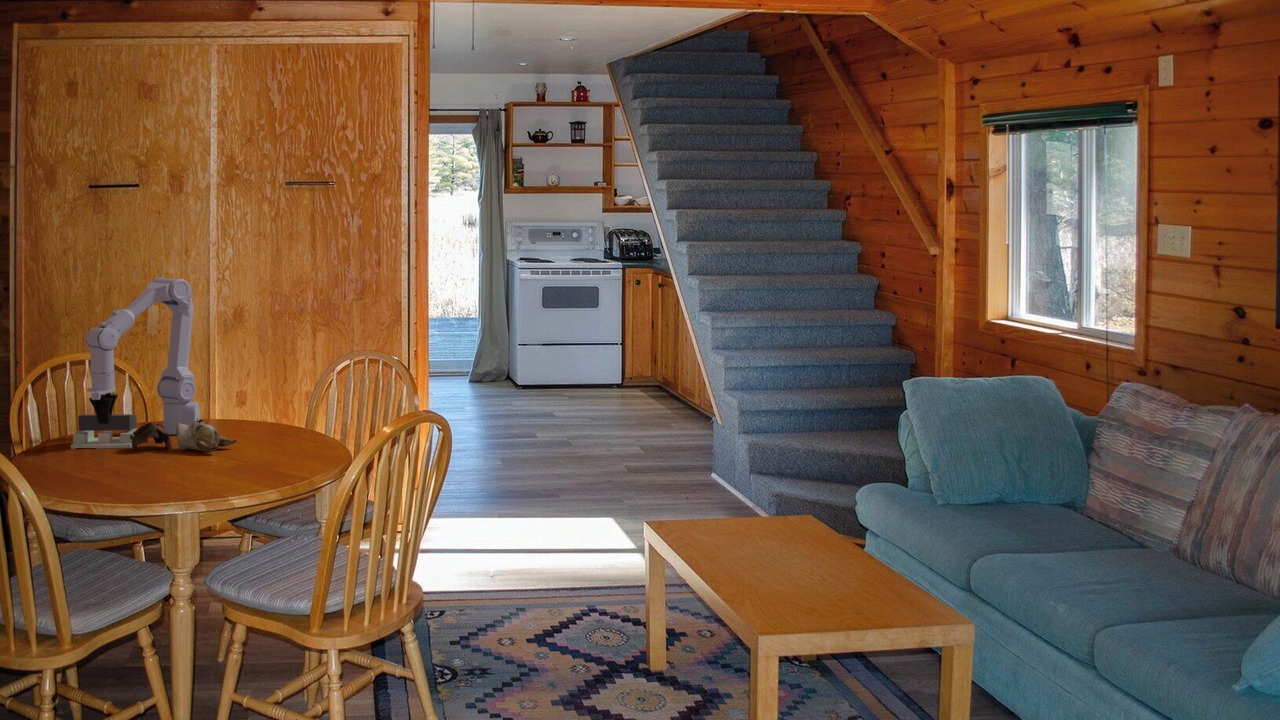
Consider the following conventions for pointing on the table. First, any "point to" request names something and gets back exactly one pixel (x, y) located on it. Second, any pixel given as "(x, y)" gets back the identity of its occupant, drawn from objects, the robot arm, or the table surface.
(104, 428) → the dark gray rectangular block
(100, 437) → the stand
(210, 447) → the ceramic sculpture
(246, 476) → the table surface
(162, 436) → the dark brown legged piece
